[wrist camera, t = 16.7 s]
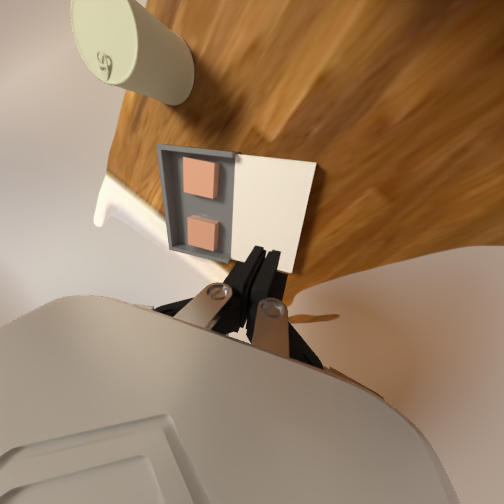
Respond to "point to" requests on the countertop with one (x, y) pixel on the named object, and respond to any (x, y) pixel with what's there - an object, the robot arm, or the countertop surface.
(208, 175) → the tile
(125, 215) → the countertop surface
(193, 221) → the tile
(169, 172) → the tray
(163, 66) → the can
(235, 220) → the plate
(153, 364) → the robot arm
